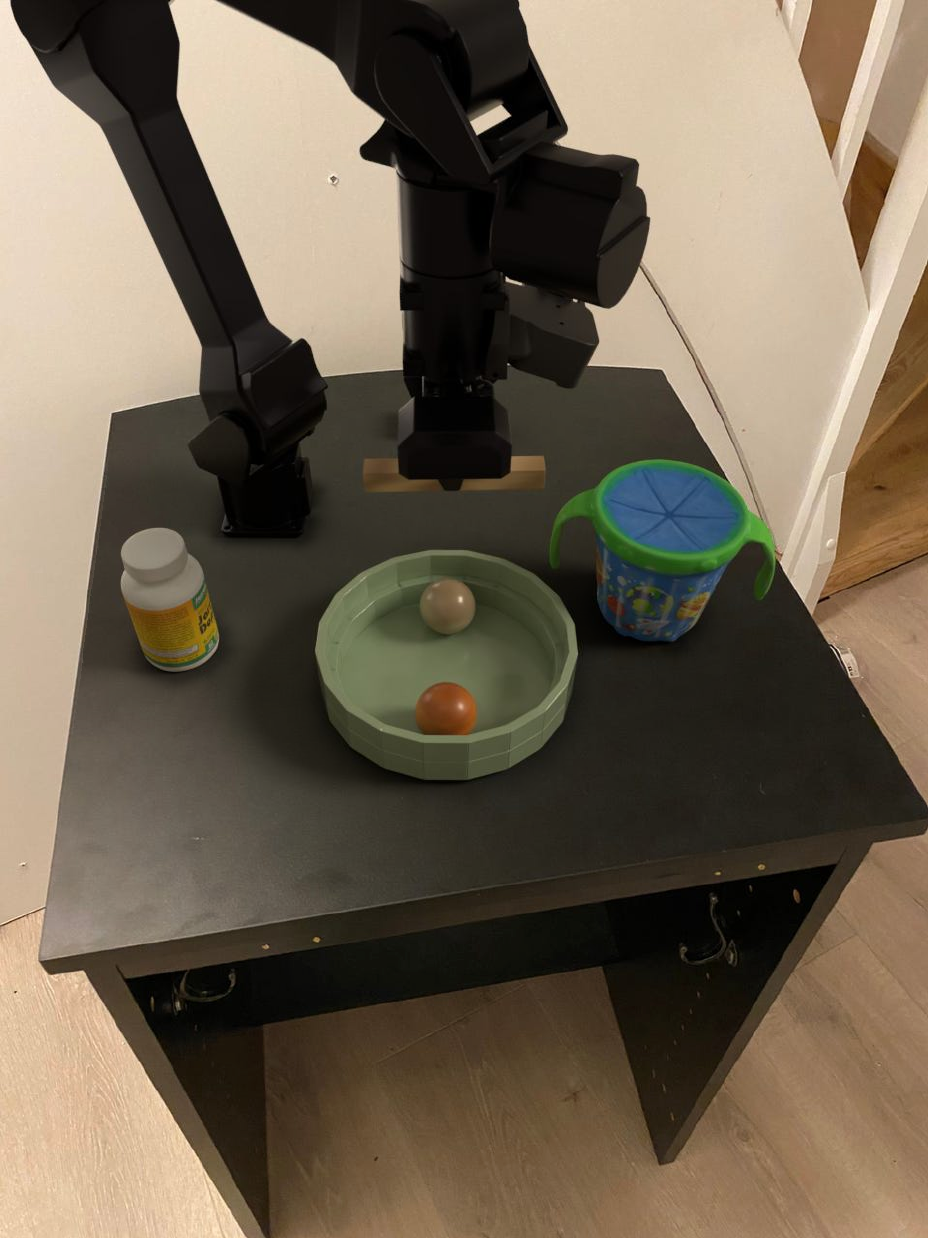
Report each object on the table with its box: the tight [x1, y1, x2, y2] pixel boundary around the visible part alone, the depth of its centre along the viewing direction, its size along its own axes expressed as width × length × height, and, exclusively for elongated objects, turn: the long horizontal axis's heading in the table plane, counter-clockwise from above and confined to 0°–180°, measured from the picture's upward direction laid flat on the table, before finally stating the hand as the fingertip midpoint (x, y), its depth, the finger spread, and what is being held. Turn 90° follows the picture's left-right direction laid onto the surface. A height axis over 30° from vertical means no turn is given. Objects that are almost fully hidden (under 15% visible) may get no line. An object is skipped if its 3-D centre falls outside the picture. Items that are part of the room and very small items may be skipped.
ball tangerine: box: [415, 682, 477, 735], centre depth 60 cm, size 4×4×4 cm
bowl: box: [314, 549, 579, 781], centre depth 64 cm, size 17×17×4 cm
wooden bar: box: [362, 455, 547, 493], centre depth 63 cm, size 12×2×2 cm, turn 92°
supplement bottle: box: [120, 527, 220, 673], centre depth 64 cm, size 5×5×10 cm
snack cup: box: [548, 459, 776, 643], centre depth 67 cm, size 16×10×10 cm
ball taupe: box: [420, 578, 476, 634], centre depth 67 cm, size 4×4×4 cm
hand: (451, 480), depth 63 cm, fingers closed on wooden bar, 2 cm apart
